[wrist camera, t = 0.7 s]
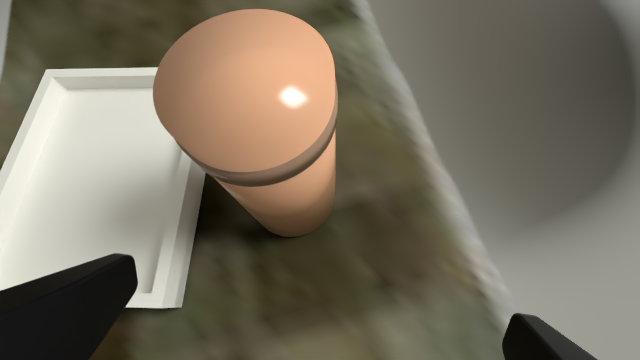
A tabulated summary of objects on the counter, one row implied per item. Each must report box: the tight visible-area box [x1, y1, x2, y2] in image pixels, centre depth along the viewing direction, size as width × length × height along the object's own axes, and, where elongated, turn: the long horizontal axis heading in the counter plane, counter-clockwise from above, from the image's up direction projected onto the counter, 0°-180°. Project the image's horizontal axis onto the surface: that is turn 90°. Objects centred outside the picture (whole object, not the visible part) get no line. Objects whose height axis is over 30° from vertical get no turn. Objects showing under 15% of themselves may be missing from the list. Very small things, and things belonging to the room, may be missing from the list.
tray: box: [0, 68, 206, 308], centre depth 23 cm, size 18×14×2 cm
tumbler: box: [153, 9, 338, 237], centre depth 17 cm, size 7×7×13 cm
